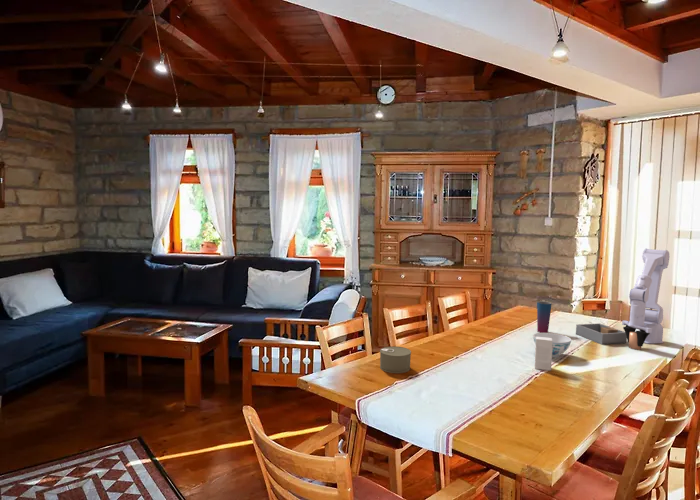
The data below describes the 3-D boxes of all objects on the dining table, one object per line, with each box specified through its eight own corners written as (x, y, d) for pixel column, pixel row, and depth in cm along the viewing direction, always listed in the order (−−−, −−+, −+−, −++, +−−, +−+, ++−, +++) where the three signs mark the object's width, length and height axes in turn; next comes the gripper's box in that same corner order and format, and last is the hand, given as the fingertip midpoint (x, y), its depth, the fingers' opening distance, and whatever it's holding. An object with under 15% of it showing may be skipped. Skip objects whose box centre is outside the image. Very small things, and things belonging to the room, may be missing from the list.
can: (406, 375, 177) (406, 357, 176) (375, 370, 181) (375, 353, 180) (413, 365, 188) (414, 348, 187) (384, 361, 192) (385, 344, 192)
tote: (598, 333, 241) (599, 323, 240) (626, 343, 224) (627, 332, 223) (575, 334, 238) (576, 324, 237) (601, 344, 221) (602, 334, 220)
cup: (547, 330, 245) (549, 301, 243) (551, 333, 238) (553, 304, 236) (533, 329, 245) (535, 301, 244) (537, 333, 239) (539, 303, 237)
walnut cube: (609, 337, 231) (610, 327, 231) (616, 340, 226) (617, 330, 226) (600, 337, 230) (601, 327, 230) (607, 340, 225) (608, 330, 225)
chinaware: (575, 355, 204) (576, 337, 204) (562, 363, 194) (563, 344, 193) (540, 347, 215) (541, 330, 214) (526, 354, 204) (527, 337, 203)
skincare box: (550, 367, 188) (552, 337, 187) (551, 370, 184) (553, 340, 183) (533, 365, 190) (535, 336, 189) (534, 368, 186) (536, 338, 185)
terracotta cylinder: (634, 346, 219) (636, 331, 219) (643, 349, 215) (645, 334, 214) (625, 346, 218) (627, 331, 217) (634, 349, 213) (635, 334, 213)
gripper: (617, 311, 221) (615, 340, 222) (643, 319, 207) (640, 349, 208) (630, 311, 223) (628, 339, 224) (656, 318, 209) (654, 348, 210)
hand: (635, 344), depth 216 cm, fingers closed on terracotta cylinder, 5 cm apart
